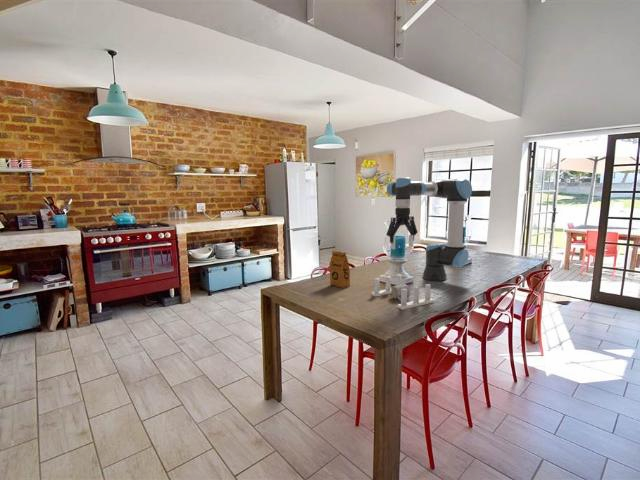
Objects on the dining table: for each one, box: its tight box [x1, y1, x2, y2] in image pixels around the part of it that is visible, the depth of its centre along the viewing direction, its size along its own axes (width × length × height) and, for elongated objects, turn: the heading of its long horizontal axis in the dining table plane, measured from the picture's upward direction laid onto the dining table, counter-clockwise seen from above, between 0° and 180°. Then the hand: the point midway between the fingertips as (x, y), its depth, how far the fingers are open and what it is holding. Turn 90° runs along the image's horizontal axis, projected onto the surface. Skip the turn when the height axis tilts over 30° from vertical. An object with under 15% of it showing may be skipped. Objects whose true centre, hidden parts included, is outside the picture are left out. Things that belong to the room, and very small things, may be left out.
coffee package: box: [329, 250, 351, 289], centre depth 205 cm, size 10×12×22 cm
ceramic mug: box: [391, 283, 411, 302], centre depth 179 cm, size 11×8×8 cm
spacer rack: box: [371, 274, 435, 310], centre depth 179 cm, size 21×27×10 cm
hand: (402, 247), depth 176 cm, fingers open, 12 cm apart
